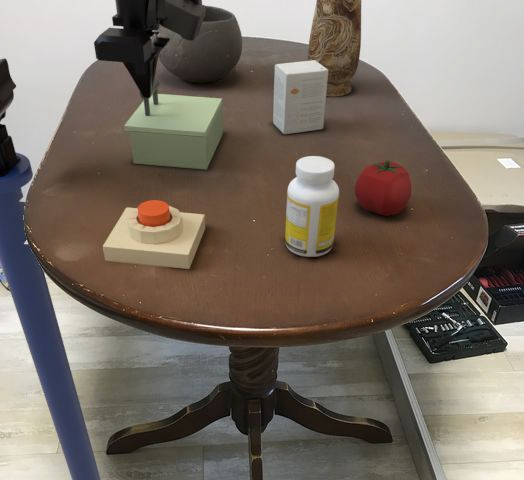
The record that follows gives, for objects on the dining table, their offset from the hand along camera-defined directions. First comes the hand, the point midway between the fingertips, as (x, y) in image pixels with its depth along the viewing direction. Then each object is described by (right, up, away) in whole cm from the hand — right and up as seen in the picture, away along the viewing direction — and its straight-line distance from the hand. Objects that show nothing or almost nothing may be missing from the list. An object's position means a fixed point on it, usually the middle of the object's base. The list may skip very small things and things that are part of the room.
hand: (147, 96), depth 84 cm
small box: (+23, +5, +25) cm, 34 cm away
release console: (+2, -22, -5) cm, 23 cm away
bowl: (+3, +22, +43) cm, 49 cm away
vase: (+31, +19, +40) cm, 54 cm away
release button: (+2, -19, -8) cm, 21 cm away
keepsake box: (+2, -1, +17) cm, 17 cm away
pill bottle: (+23, -22, -4) cm, 32 cm away
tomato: (+34, -15, +4) cm, 37 cm away
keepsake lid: (+2, +3, +14) cm, 14 cm away
